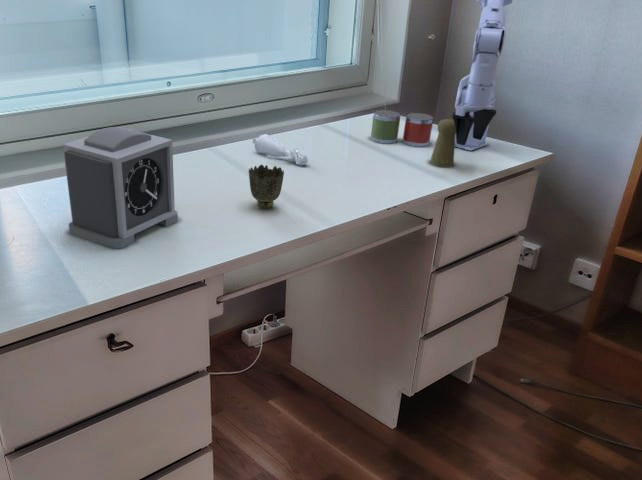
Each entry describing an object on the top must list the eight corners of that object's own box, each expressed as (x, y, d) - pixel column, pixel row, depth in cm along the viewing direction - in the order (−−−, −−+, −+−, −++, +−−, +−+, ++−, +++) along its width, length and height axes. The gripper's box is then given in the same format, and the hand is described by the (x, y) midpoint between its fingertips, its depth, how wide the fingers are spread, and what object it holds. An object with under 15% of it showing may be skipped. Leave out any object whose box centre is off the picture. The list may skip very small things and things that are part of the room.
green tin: (392, 135, 198) (395, 110, 194) (400, 143, 191) (404, 117, 187) (367, 135, 196) (370, 110, 192) (374, 143, 190) (378, 117, 186)
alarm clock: (118, 250, 126) (109, 150, 116) (66, 232, 132) (53, 135, 121) (180, 219, 139) (177, 128, 129) (131, 204, 145) (124, 115, 135)
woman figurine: (272, 127, 182) (323, 148, 173) (271, 144, 185) (320, 165, 175) (240, 135, 175) (291, 157, 165) (239, 152, 178) (289, 175, 168)
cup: (286, 203, 149) (288, 167, 145) (275, 215, 143) (277, 177, 139) (254, 198, 151) (255, 162, 147) (242, 209, 145) (243, 172, 141)
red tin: (406, 137, 197) (410, 111, 193) (432, 141, 194) (436, 115, 190) (399, 143, 191) (403, 117, 187) (425, 148, 189) (429, 121, 185)
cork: (455, 167, 175) (464, 123, 169) (432, 166, 175) (439, 122, 169) (450, 160, 180) (459, 117, 174) (428, 159, 180) (435, 116, 174)
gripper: (479, 90, 156) (467, 150, 163) (511, 83, 165) (498, 140, 172) (452, 85, 160) (442, 143, 167) (485, 77, 169) (473, 133, 176)
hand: (469, 141), depth 170 cm, fingers open, 7 cm apart
